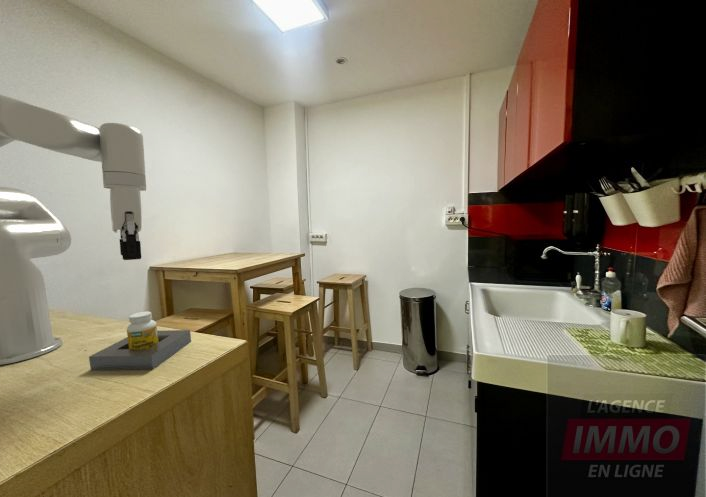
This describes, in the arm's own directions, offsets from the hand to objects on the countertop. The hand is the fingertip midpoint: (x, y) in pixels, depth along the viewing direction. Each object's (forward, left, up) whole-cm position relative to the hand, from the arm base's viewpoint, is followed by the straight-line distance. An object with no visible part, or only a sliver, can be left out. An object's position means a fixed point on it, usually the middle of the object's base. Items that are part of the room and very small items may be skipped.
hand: (130, 257), depth 64 cm
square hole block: (+4, -3, -22) cm, 23 cm away
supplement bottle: (+4, -3, -22) cm, 23 cm away
